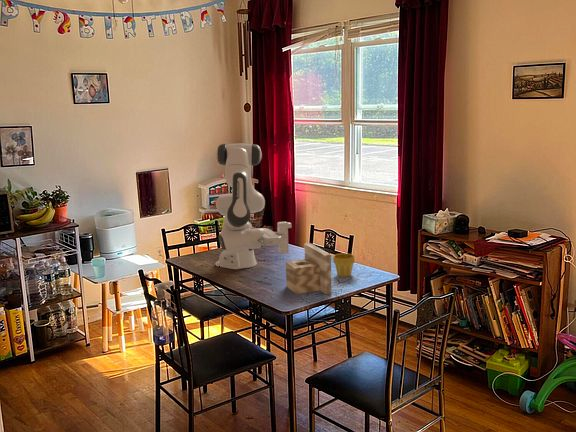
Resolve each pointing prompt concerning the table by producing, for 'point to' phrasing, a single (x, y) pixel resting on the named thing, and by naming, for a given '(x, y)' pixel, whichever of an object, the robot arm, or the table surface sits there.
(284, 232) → the grey brown tall block
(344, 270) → the plant pot
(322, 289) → the tan blocky piece
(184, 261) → the table surface
